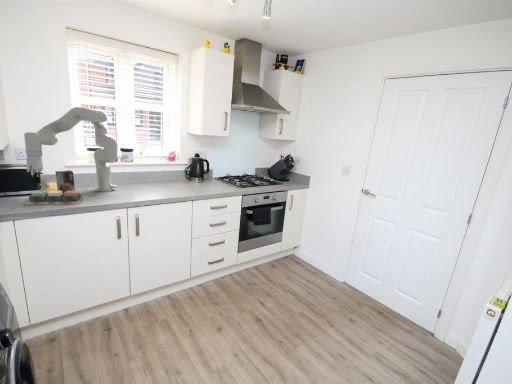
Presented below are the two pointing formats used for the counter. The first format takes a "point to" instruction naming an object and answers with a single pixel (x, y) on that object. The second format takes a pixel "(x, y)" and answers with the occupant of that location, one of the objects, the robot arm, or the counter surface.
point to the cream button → (55, 193)
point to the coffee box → (65, 181)
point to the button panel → (55, 199)
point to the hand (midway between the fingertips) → (37, 182)
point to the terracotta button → (71, 193)
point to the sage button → (39, 193)
